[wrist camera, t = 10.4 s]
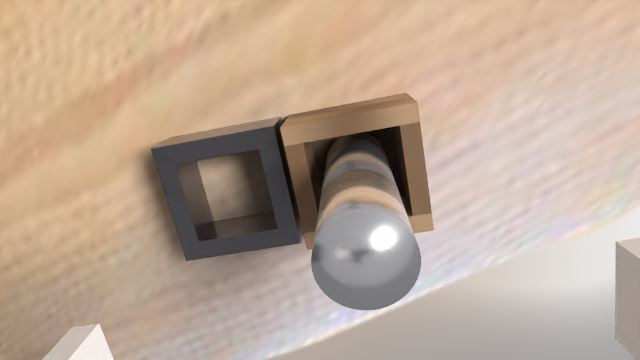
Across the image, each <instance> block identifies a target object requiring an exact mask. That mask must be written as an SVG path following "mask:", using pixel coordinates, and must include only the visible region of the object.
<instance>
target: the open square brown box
mask: <svg viewBox="0 0 640 360" xmlns="http://www.w3.org/2000/svg"><path fill="white" fill-rule="evenodd" d="M388 127H394V132H395V139H396V146H397V152H398V159H399V166H400V173H401V180H402V186H403V192H399V194H400V197H401V199H402V202H403V205H404V208H405V211H406V213H407V216H408V219H409V222H410V225H411V227H412V230H413V233H419V232H426V231H432V230H434V228H433V220H432V212H431V205H430V197H429V189H428V181H427V174H426V166H425V158H424V150H423V143H422V135H421V127H420V119H419V112H418V104H417V101H415V100H414V99H413V98H412V97H410V96H409V95H408V94H407V93H404V94H399V95H394V96H388V97H383V98H378V99H372V100H367V101H362V102H357V103H351V104H346V105H341V106H335V107H330V108H325V109H319V110H314V111H309V112H303V113H298V114H293V115H289V116H288V118H287V119H286V120H285V122H284V123H283V124H282V126H281V127H280V130H281V134H282V139H283V143H284V148H285V152H286V156H287V161H288V165H289V170H290V174H291V179H292V183H293V188H294V192H295V197H296V201H297V206H298V210H299V214H300V219H301V223H302V228H303V232H304V237H305V241H306V246H307V250H308V249H313V245H314V238H315V232H316V225H317V219H318V213H319V206H320V200H321V193H322V189H321V184H320V179H319V174H318V170H317V165H316V160H315V155H314V150H313V145H312V141H317V140H322V139H328V138H333V137H339V136H344V135H350V134H355V133H361V132H366V131H372V130H377V129H383V128H388Z"/></svg>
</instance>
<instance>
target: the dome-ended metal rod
mask: <svg viewBox="0 0 640 360" xmlns="http://www.w3.org/2000/svg"><path fill="white" fill-rule="evenodd" d="M311 265H312V271H313V275H314V278H315V280H316V282H317V284H318V285H319V287H320V288H321V290H322V291H323V292H324V293H325V294H326V295H327V296H328V297H329V298H331V299H332V300H333V301H335V302H337V303H339V304H340V305H343V306H345V307H348V308H352V309H358V310H375V309H380V308H384V307H387V306H389V305H391V304H394V303H395V302H397V301H399V300H400V299H401V298H403V297H404V296H405V295H406V294H407V293H408V292H409V291H410V290H411V288H412V287H413V286H414V284H415V282H416V280H417V278H418V275H419V272H420V267H421V255H420V250H419V247H418V244H417V241H416V238H415V236H414V233H413V230H412V227H411V225H410V222H409V219H408V216H407V213H406V211H405V208H404V205H403V202H402V199H401V197H400V194H399V191H398V188H397V185H396V183H395V180H394V177H393V174H392V171H391V169H390V166H389V163H388V160H387V157H386V155H385V152H384V149H383V147H382V145H381V144H380V143H379V141H378V140H377V139H375V138H374V137H373V136H371V135H369V134H367V133H363V132H361V133H355V134H350V135H344V136H340V137H339V138H338V139H336V140H335V141H334V143H333V144H332V145H331V147H330V149H329V151H328V155H327V161H326V168H325V174H324V180H323V187H322V193H321V200H320V206H319V213H318V219H317V225H316V232H315V238H314V245H313V251H312V258H311Z"/></svg>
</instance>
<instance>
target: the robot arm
mask: <svg viewBox="0 0 640 360" xmlns="http://www.w3.org/2000/svg"><path fill="white" fill-rule="evenodd" d="M615 324H616V325H615V338H616V339H617V340H618V341H619V342H620V343H621V344H622V346H623V347H624V348H625V349H626V350H627V351H628V352H629V353H630V354H631V355H632V356H633V357H634V358H635V359H636V360H640V238H636V239H630V240H624V241H617V242H616V306H615ZM42 360H114V359H113V357H112V354H111V352H110V349H109V347H108V344H107V342H106V339H105V337H104V334H103V332H102V329H101V327H100V324H99V323H96V324H90V325H83V326H77V327H72V328H71V329H70V330H69V331H68V332H67V333H66V334H65V335H64V336H63V337H62V339H61V340H60V341H59V342H58V343H57V344H56V345H55V346H54V347H53V348H52V349H51V351H50V352H49V353H48V354H47V355H46V356H45V357H44V358H43V359H42Z"/></svg>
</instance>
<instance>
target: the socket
mask: <svg viewBox="0 0 640 360" xmlns="http://www.w3.org/2000/svg"><path fill="white" fill-rule="evenodd" d="M282 124H283V122H282V117H277V118H272V119H266V120H261V121H256V122H250V123H245V124H240V125H235V126H229V127H224V128H219V129H213V130H208V131H203V132H197V133H192V134H187V135H182V136H176V137H171V138H170V139H168V140H166V141H164V142H162V143H160V144H159V145H157V146H155V147H153V148H151V150H152V153H153V157H154V160H155V163H156V166H157V169H158V172H159V176H160V179H161V182H162V185H163V188H164V191H165V195H166V198H167V201H168V204H169V207H170V210H171V214H172V217H173V220H174V223H175V226H176V229H177V233H178V236H179V239H180V242H181V245H182V248H183V252H184V255H185V258H186V261H189V260H195V259H201V258H208V257H214V256H221V255H227V254H234V253H240V252H246V251H253V250H259V249H266V248H272V247H279V246H285V245H292V244H298V243H301V238H302V234H303V228H302V223H301V219H300V214H299V210H298V206H297V201H296V197H295V192H294V188H293V183H292V179H291V174H290V170H289V165H288V161H287V156H286V152H285V148H284V143H283V139H282V134H281V130H280V127H281V126H282ZM256 149H259V153H260V157H261V161H262V165H263V169H264V174H265V178H266V182H267V186H268V190H269V194H270V198H271V203H272V207H273V211H274V212H269V213H262V214H256V215H250V216H244V217H238V218H232V219H226V220H220V221H214V222H213V218H212V215H211V211H210V208H209V204H208V201H207V197H206V194H205V190H204V187H203V183H202V180H201V176H200V173H199V169H198V166H197V162H196V160H201V159H207V158H212V157H218V156H223V155H229V154H234V153H240V152H245V151H251V150H256Z"/></svg>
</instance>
